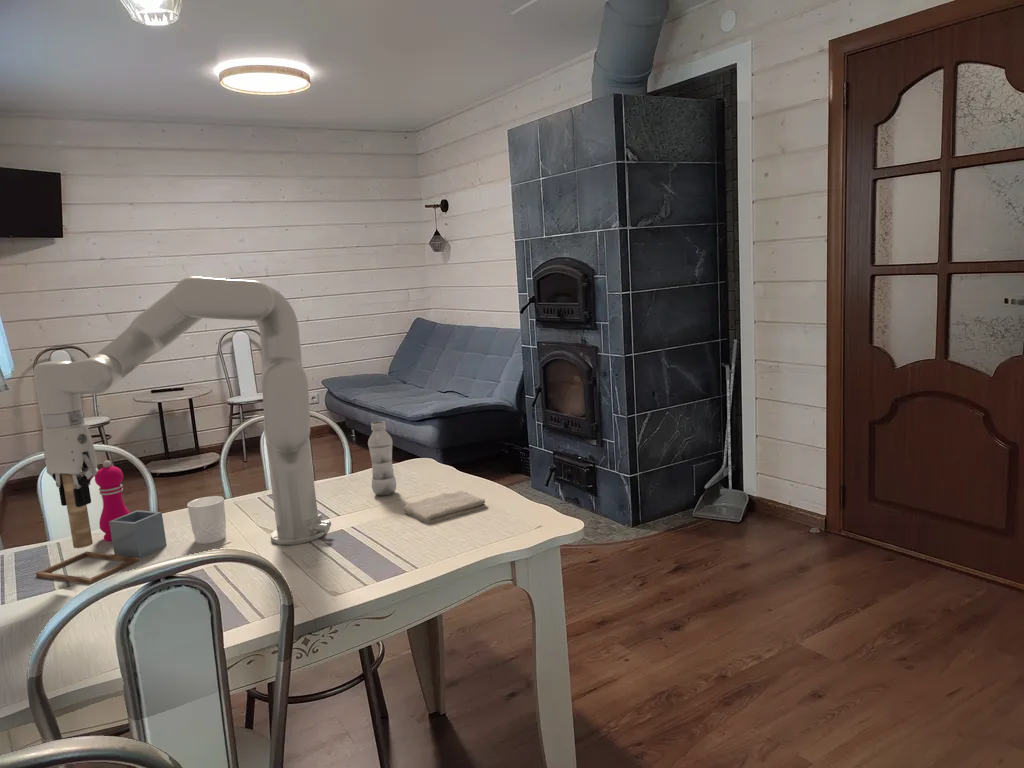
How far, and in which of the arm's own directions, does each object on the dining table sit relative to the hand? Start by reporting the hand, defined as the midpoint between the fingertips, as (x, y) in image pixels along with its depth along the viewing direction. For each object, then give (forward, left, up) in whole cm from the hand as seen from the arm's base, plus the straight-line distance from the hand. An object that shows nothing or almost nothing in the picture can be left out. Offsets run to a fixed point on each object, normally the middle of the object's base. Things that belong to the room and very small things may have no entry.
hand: (76, 503), depth 157 cm
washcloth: (-60, -52, -16) cm, 81 cm away
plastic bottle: (-37, -61, -16) cm, 73 cm away
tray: (0, 0, -16) cm, 16 cm away
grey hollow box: (-3, -11, -16) cm, 20 cm away
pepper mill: (+11, -17, -16) cm, 26 cm away
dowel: (0, 0, -9) cm, 9 cm away
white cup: (-14, -21, -16) cm, 30 cm away
